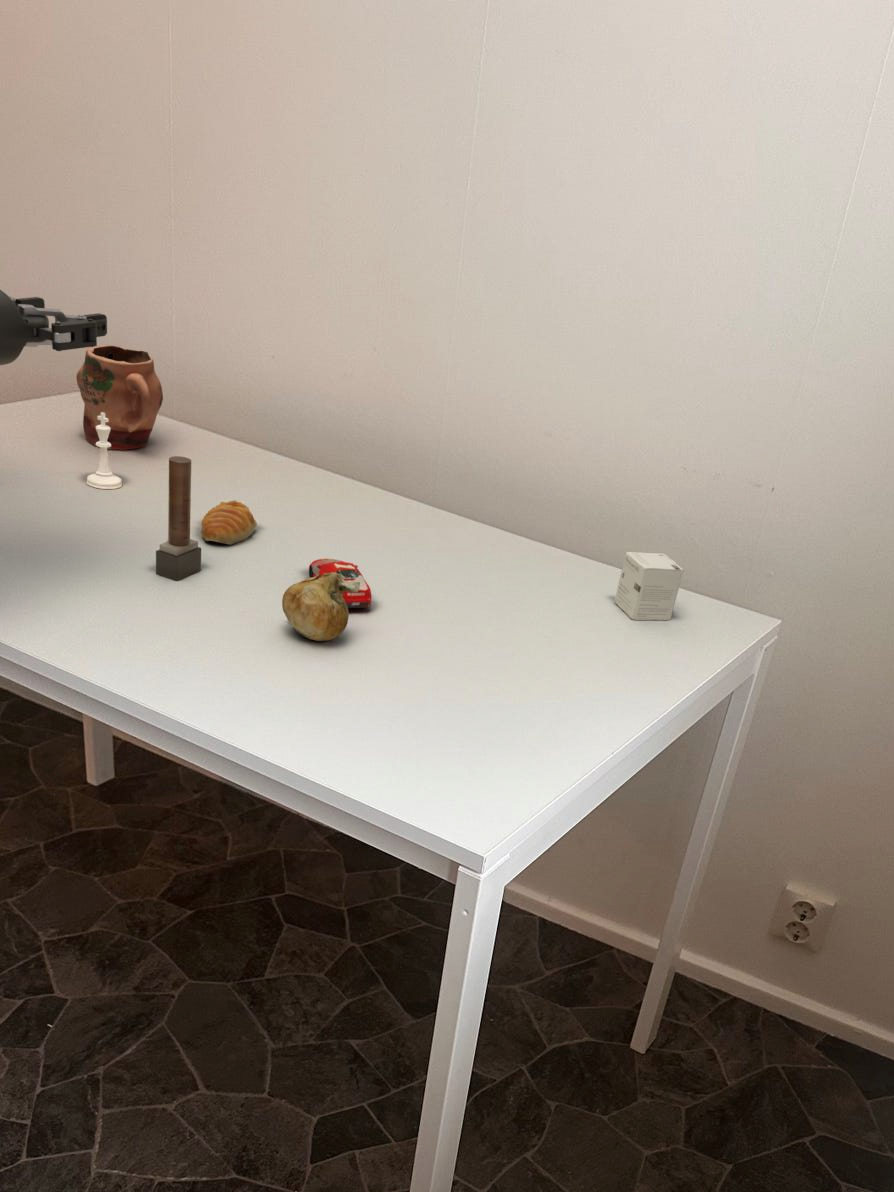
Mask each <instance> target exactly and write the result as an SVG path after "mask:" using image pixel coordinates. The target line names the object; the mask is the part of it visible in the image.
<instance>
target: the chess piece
mask: <svg viewBox="0 0 894 1192" xmlns="http://www.w3.org/2000/svg"><path fill="white" fill-rule="evenodd" d="M97 419H98V420H101V424H100V425H97V426H96V431H97V433H98V437H99V439H100V441H98V442H96V446H95V447H97V446H98V448H99V457H98V466H97V470H95V473H91V474H88V476H86V484H87V485H88V486H90V487H92V488H95V489H99V490H100V489H101V490H114V489H119V488H121V487H122V486H123V483H122V478H121V477H119V476H117V475H115V474H113V471H111V467H110V461H109V453H108V449H107V448H108V447H111V443H109V442H108V441H107V439H108V436H109V433H110V430H111V428H110V427H109V426H107V425H105V422H109V419H108V418H105V413H103V412H102V413H101V416H97Z"/></svg>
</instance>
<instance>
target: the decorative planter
mask: <svg viewBox="0 0 894 1192" xmlns="http://www.w3.org/2000/svg"><path fill="white" fill-rule="evenodd" d="M84 355H85V356H84V361H83V363H82V365H81V367H80V368H79V370H77V372H76V377H75V378H76V383H77V387H78V390H79V393H80V397H81V400H82V401H83V404H84V405H83V406H84V408H83V417H82V421H83V422H82V428H83V432H84V436H85V438H86V440H87V441H88V442H89V444H92V445H93V446H95V447H98V446H96V442H98V441H100V439H99V437H98V433H97V431H96V426H97V425H100V424H101V420H98V419H97V416H101V413H102V412H103V413H105V418H108V419H109V422H105V425H107V426H109V427H110V428H111V430H110V433H109V436H108V439H107V441H108V442H109V443H111V447H108V448H107V450H133V449H138V448H143V447H145V446H146V445H148V444H149V439H150V436H151V433H152V431H153V428H154V425H155V423H156V420H157V417H158V413H159V411H160V409H161V407H162V404H163V402H164V401H163V400H164V393H163V387H162V384H161V381H160V379H159V377H158V375H157V373H156V371H155V363H154V359H153V357H152V355H150V353H149V352H147V351H144V350H140V349H133V348H125V347H121V346H118V345H113V344H103V345H97V346H94V347H87V349H86V350H85V354H84ZM98 448H99V447H98Z"/></svg>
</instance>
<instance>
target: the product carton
mask: <svg viewBox="0 0 894 1192" xmlns="http://www.w3.org/2000/svg"><path fill="white" fill-rule="evenodd" d="M683 575H684V569H683V568H682V567H681V566H680V565H678V563H677V562H676V561H674V560H673V559H672V558H670V557H669V556H668V555H667V554H665V553H662V552H661V553H660V552H658V553H657V552H640V551H639V552H637V551H627V552H626V553H625V555H624V560H623V563H622V568H621V572H620V576H619V580H618V581H619V582H618V585H617V588H616V593H615V597H614V603H615V604H616V605H617V606H618V607H619V608H620V609H621V610H622V611H623V612H624V613H625V615H627V616H628V617H629V618H630V619H631V620H633V621H671V619H672V616H673V611H674V609H675V608H674V607H675V604H676V600H677V596H678V593H679V589H680V585H681V582H682V578H683Z"/></svg>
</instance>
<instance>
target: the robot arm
mask: <svg viewBox="0 0 894 1192" xmlns="http://www.w3.org/2000/svg"><path fill="white" fill-rule="evenodd" d="M45 305H46V304H45V300H44V298H42V297H40V296H32V297H22V298H16V297H13V296H11V295H8V294H7V293H6V292H4V291H3V290H2V289H0V366H4V365H5V366H6V365H9V364H11V363H13V362H15V361H16V360H17V359H18V358H19V356H20V355H21V353H22V352H23V350H24V348H25V347H26V348H37V347H38V346H51V349H52V350H54V351H56V352H62V351H69V350H70V351H71V350H78V349H85V348H91V347H97V346H98V338H100V337H101V338H102V337H106V335H107V334H108V317H107V316H106V314H103V313H101V312H100V313H99V312H98V313H97V312H96V313H90V314H78V315H75V314H65V313H64V312H63V311H62V310H61V309H59V308H46V306H45ZM49 317H53V318H54V320H55V321H54V322H51V324H50V320H49V319H50V318H49ZM50 325H51V327H50Z"/></svg>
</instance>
